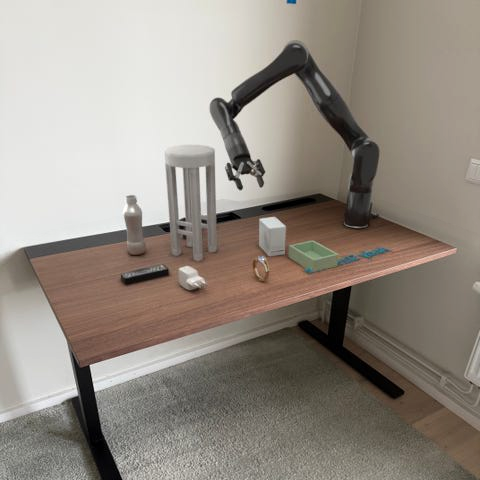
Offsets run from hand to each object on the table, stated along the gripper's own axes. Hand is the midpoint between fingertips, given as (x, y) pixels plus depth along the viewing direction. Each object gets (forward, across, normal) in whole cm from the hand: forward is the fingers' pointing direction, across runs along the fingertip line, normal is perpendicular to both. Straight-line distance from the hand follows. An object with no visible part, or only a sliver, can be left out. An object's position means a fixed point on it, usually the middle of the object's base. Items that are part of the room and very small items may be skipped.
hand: (251, 187), depth 171 cm
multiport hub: (+24, -47, +3) cm, 53 cm away
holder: (+34, +7, -8) cm, 36 cm away
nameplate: (+38, +18, -11) cm, 44 cm away
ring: (+37, -16, -10) cm, 42 cm away
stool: (+16, -25, +11) cm, 32 cm away
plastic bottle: (+10, -43, +17) cm, 47 cm away
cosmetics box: (+24, 0, +3) cm, 24 cm away
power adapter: (+34, -37, -8) cm, 51 cm away
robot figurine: (+1, -16, +26) cm, 30 cm away
